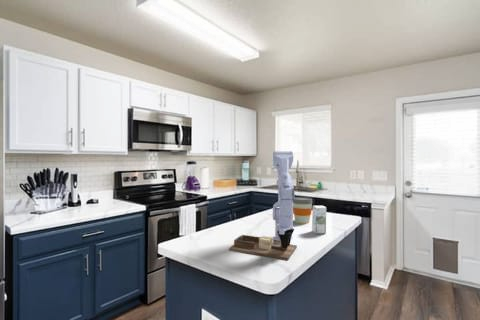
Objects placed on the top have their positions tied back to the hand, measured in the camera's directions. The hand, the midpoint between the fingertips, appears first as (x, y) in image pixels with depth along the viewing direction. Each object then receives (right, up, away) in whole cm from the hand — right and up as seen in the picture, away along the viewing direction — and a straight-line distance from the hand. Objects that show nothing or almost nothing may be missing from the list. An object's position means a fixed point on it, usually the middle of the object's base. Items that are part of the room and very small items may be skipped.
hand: (285, 246), depth 111 cm
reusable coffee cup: (+20, -2, +54) cm, 57 cm away
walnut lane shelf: (-9, -2, +4) cm, 10 cm away
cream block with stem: (-5, -1, +2) cm, 6 cm away
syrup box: (+23, -3, +30) cm, 38 cm away
